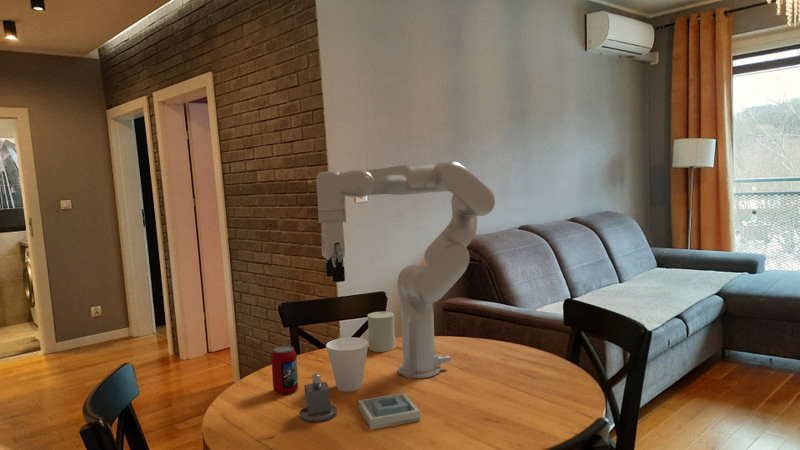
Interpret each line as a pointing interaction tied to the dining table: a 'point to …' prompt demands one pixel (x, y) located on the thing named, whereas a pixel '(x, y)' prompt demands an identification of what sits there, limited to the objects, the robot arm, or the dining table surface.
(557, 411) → the dining table surface
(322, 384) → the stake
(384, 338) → the can
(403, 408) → the blue-grey rectangular frame
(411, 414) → the tray
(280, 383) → the beverage can
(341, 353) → the cup
